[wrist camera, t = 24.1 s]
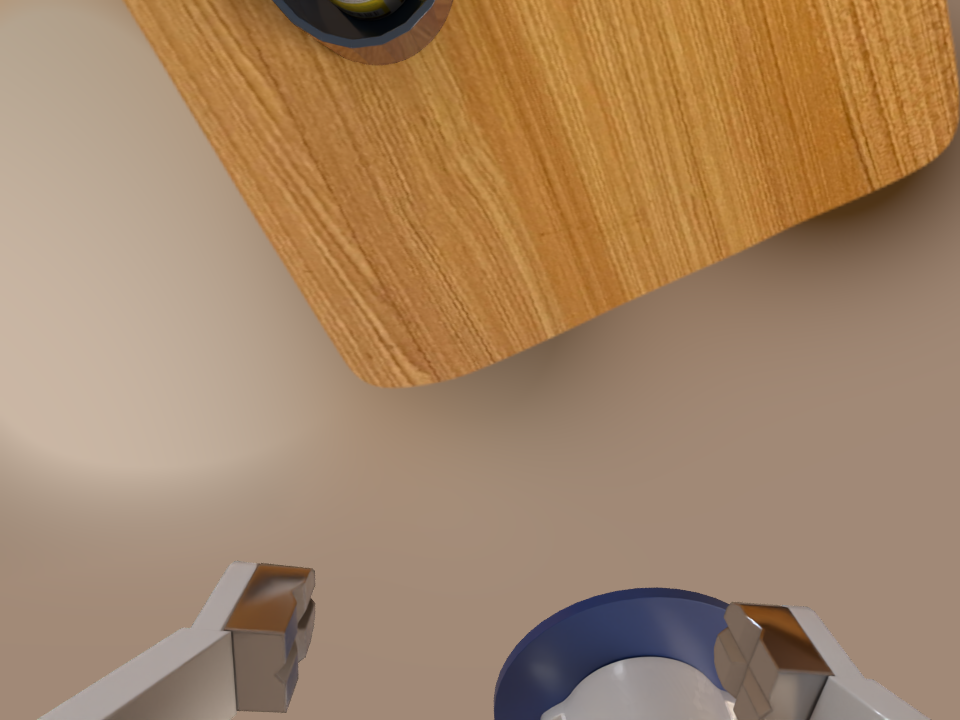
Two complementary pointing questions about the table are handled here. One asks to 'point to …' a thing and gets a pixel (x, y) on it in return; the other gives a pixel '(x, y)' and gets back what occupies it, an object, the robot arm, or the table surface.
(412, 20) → the crock
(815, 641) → the robot arm
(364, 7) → the supplement bottle
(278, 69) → the table surface
